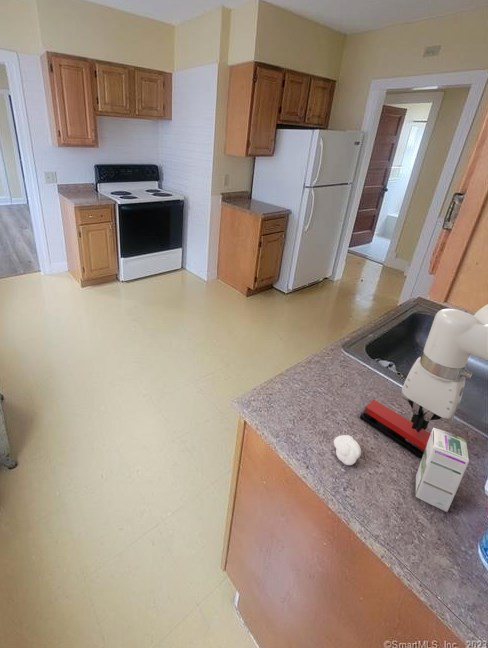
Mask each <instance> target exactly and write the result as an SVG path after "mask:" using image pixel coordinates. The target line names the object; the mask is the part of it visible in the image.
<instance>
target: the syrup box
mask: <svg viewBox="0 0 488 648" xmlns="http://www.w3.org/2000/svg"><path fill="white" fill-rule="evenodd" d="M430 434H431V435H430V437H429V440H428V443H427V445H426V448H425V451H424V454H423V457H422V459H420V463H419V465H418V468H417V470H416V474H415V493H414V494H415V498H417V499H419V500H421V501H422V502H424V503H426V504H429V505H431V506H433V507H435V508H437V509H439V510H442V511H444V512H446V513H448V511H449V510H450V508H451V505H452V503H453V501H454V498H455V496H456V494H457V491H458V489H459V487H460V485H461V481H462V480H463V476H464V475H465V472H466V470H467V468H468V465H469V463H470V458H469V451H468V443H467V439H466V438H463V437H461V436H459V435H457V434H454V433H451V432H449V431H446V430H443V429H441V428H437V427H432V429H431V432H430Z"/></svg>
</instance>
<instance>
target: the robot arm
mask: <svg viewBox="0 0 488 648" xmlns="http://www.w3.org/2000/svg"><path fill="white" fill-rule="evenodd" d="M470 356H473V357H476V358H478V359H481V360H483V361H486V362H488V303H487V304H485V305H484V306H482V307H481V308H480V309H478V310H477V311H476V312H475V313H474V314H471V313H468V312H466V311H463V310H460V309H455V308H442V309H440V310H439V311H437V313H435V316H434V319H433V321H432V324H431V327H430V330H429V333H428V336H427V338H426V342H425V345H424V348H423V350H422V353H421V356H419V357H418V358H417V359H416V360H415V361H414V363H413V364H412V366H411V367H410V370H409V372H408V374H407V376H406V378H405V380H404V382H403V385H402V388H401V391H400V392H399V396H400V397H401V398H402V399H404V400H405V401H406V402H408V404H409V406H410V407H411V409H412V410H411V411H412V413H413V414H412V417H411V419H410V422H412V423H413V425H412V429H416V430H417V432H420V431H421V429H424V430H425V431H426V429H427V428H428V426H429V423H430V421H438V420H439V421H441V422H444V423H446V424H449V425H451V424H452V423H453V422H454V421H455V413H456V412H457V410H458V409H459V407H460V404H461V401H462V398H463V394H464V390H465V385H466V378H467V379H469V380H470V379H471V377H472V376H473V372H471V371H469V370H468V369H467V367H466V366H467V363H468V361H469V358H470ZM424 409H426V410H427V411H426V412H425V411H424Z"/></svg>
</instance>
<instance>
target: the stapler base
mask: <svg viewBox="0 0 488 648" xmlns="http://www.w3.org/2000/svg"><path fill="white" fill-rule="evenodd" d="M359 419H360V420H362V421H363V422H365V423H366V424H367V425H369V426H370V427H372V428H373V429H375V430H377V431H378V432H380V433H381V434H382V435H384V436H385V437H386V438H389V439H390V440H391V441H393V442H394V443H396V444H398V445H399V446H401V447H402V448H404V449H405V450H406V451H408V452H410V453H411V454H412V455H414V456H415V457H417V458H419V459H420V460H421V459H422V457H423V454H424V450H423V449H421V448H420V447H418V446H416V445H415V444H413V443H412V442H410V441H409V440H407V439H406V438H404V437H403V436H401V435H399V434H398V433H396V432H395V431H393V430H392V429H390V428H389V427H387V426H385V425H384V424H382V423H381V422H379V421H378V420H376V419H375V418H373V417H372V416H370V415H368V414H367V413H365V412H364V411H362V413H361V414H360V416H359Z"/></svg>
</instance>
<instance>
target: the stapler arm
mask: <svg viewBox="0 0 488 648" xmlns="http://www.w3.org/2000/svg"><path fill="white" fill-rule="evenodd" d="M363 410H364V411H363V412H365V413H367V414H368V415H370V416H372V417H373V418H375V419H376V420H378V421H379V422H381V423H382V424H384V425H385V426H387V427H389V428H390V429H392V430H393V431H395V432H396V433H398V434H399V435H401V436H403V437H404V438H406V439H407V440H409V441H410V442H412V443H413V444H415V445H416V446H418V447H420V448H421V449H423V450H424V451H425V448H426V445H427V443H428V440H429V437H430V435H431V432H429V431H427V430H426V429H425V430H424V429H421V431H420V432H417V430H416V429H412V425H413V423H412V422H411V420H409V419H407V418H405V417H404V416H403V415H400V414H399V413H397V412H396V411H394V410H392V409H390V408H389V407H387V406H385V405H384V404H382V403H381V402H379V401H377V400H375V399H374V398H373V399H372V400H371V401H370V402H369V403H367V405H366V406H365V407H364V409H363Z"/></svg>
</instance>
